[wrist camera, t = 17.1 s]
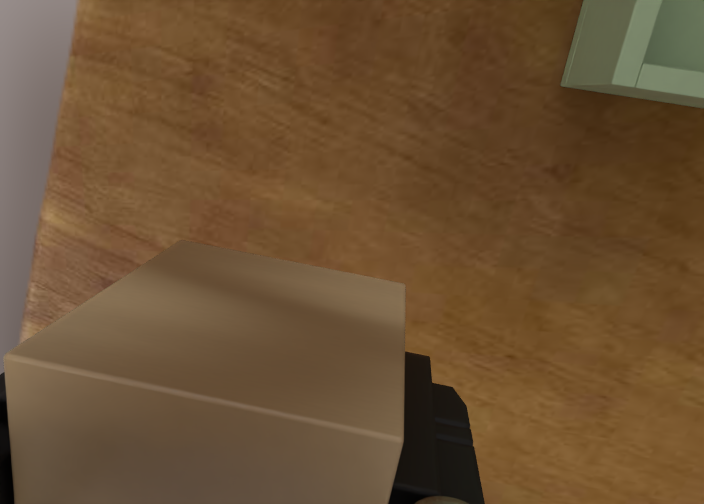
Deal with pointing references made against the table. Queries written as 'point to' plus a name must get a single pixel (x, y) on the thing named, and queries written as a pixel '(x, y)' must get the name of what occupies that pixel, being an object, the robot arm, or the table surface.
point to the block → (213, 387)
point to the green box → (639, 50)
